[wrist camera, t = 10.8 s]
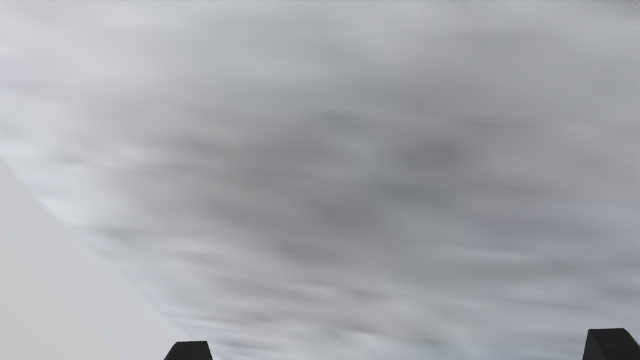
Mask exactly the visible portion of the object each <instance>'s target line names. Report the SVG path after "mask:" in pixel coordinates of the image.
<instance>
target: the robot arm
mask: <svg viewBox="0 0 640 360" xmlns="http://www.w3.org/2000/svg"><path fill="white" fill-rule="evenodd" d="M164 360H213V359H212V356H211V353H210V349H209V346H208V343H207V341H189V342H176V343H175V344H174V345H173V347H172V348H171V350H170V351H169V353H168V354H167V356H166V358H165V359H164ZM582 360H640V346H639V345H638V343H637V342H636V341H635V340H634V338H633V337H632V336H631V335H630V334H629V332H628V331H626V330H625V329H624V328H614V329H589V330H588V335H587V340H586V345H585V349H584V354H583V359H582Z"/></svg>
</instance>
